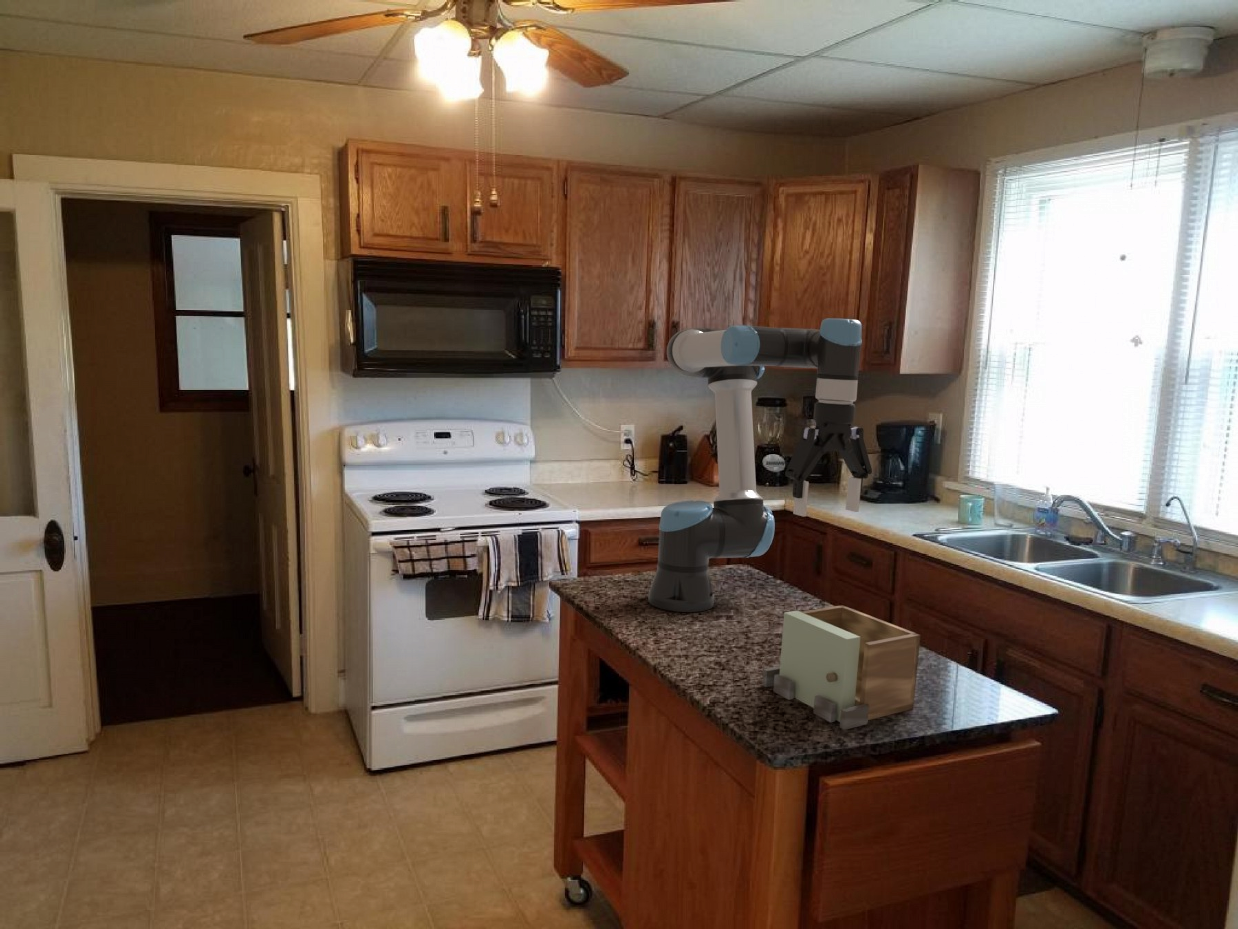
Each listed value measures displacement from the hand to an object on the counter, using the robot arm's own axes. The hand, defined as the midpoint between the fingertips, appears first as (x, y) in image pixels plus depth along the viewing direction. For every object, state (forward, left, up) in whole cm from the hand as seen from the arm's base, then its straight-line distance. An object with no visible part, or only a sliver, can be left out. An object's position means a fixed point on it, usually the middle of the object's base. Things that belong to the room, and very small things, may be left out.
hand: (826, 513), depth 170 cm
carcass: (+17, -11, -29) cm, 35 cm away
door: (+17, -16, -29) cm, 37 cm away
